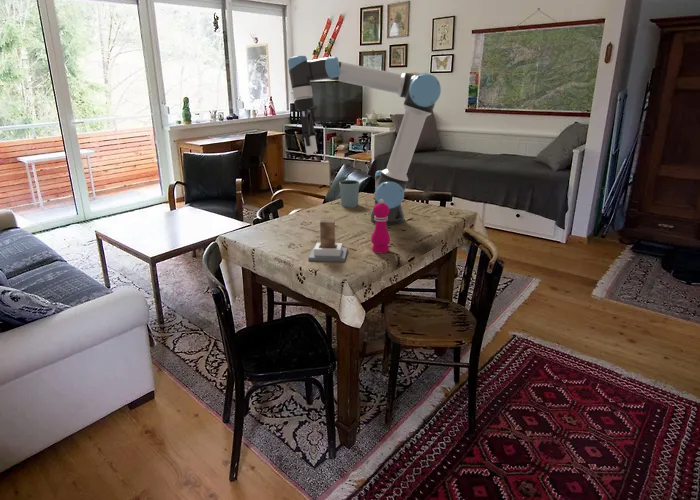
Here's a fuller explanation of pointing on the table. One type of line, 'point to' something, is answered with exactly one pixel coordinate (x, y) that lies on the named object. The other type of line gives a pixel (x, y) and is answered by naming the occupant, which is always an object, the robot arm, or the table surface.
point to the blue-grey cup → (349, 193)
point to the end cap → (328, 253)
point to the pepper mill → (380, 228)
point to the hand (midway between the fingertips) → (312, 153)
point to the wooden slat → (327, 233)
